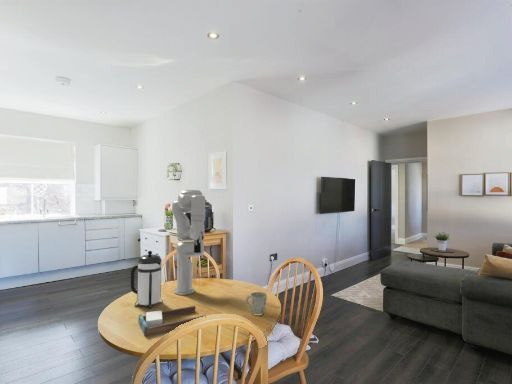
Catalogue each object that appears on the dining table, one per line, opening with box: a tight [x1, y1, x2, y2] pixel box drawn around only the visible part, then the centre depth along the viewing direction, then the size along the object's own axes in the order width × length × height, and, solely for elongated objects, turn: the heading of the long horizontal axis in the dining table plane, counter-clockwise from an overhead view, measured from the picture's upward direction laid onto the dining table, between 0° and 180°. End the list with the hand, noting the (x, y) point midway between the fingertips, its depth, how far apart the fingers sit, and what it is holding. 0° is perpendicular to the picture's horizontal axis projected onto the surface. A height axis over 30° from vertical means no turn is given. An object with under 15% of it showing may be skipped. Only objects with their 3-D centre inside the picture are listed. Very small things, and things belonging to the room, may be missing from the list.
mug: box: [245, 291, 268, 314], centre depth 151 cm, size 8×13×10 cm, turn 58°
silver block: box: [145, 310, 163, 328], centre depth 135 cm, size 10×7×5 cm
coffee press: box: [130, 250, 163, 310], centre depth 161 cm, size 17×16×30 cm
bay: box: [138, 305, 206, 337], centre depth 138 cm, size 15×28×4 cm, turn 122°
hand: (197, 252), depth 153 cm, fingers closed
